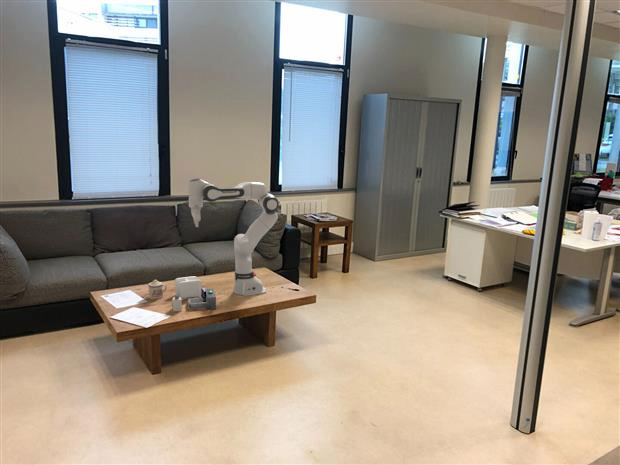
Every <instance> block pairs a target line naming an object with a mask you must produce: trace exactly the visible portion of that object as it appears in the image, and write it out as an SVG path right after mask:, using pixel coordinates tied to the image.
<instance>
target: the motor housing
mask: <svg viewBox="0 0 620 465" xmlns="http://www.w3.org/2000/svg"><path fill="white" fill-rule="evenodd" d="M204 292H206V302H203V298H202V297H189V298H187V305H188V309H189V311H191V310H198V309H199V310H201V309H207V311H210V310H217V296H216V293H215V291H214V288H205V289H204Z"/></svg>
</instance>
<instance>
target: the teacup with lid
mask: <svg viewBox="0 0 620 465" xmlns="http://www.w3.org/2000/svg"><path fill="white" fill-rule="evenodd" d="M147 286H148V298H149V299H151V300H159V299H162V298H163V297H164V292H166V291H167V285H166V284H164V283H163V282H161V281H158V280H157V279H154V280H152V282H149V283H148V285H147ZM163 287H164V288H163ZM163 289H164V290H163Z"/></svg>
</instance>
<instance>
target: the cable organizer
mask: <svg viewBox="0 0 620 465" xmlns="http://www.w3.org/2000/svg"><path fill="white" fill-rule="evenodd" d="M174 292H175V295H179V297H181V299H182V300H185V299H188V298H199V297H200V296H201V295H202V281H201V279H198V277H197V276H194V275H193V276H192V275H191V276H185V277H184V276H183V277H177V278H175V279H174Z"/></svg>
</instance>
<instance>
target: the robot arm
mask: <svg viewBox="0 0 620 465" xmlns="http://www.w3.org/2000/svg"><path fill="white" fill-rule="evenodd" d="M267 189H268V188H267V186H266V184H265V183H263V182H258V181H257V182H256V181H244V182H240V183H238V184H237V185H236V186H234V187H225V188H223V187H217V186H216V185H214V184H213V183H209V182H206V181H205V180H203V179H202V178H192V179H190V181H189V182H188V189H187V190H188V207H189V208H190V212H191V213H190V214H191V216H192V218H193V223H194V225H195V227H196V228H199V222H201V218H202V217H201V210H202V208H203V207H204V200H205V201H207V202H209V203H210V202H211V203H212V202H213V203H214V202H216V201H218V200H221V199H232V198H233V199H234V198H236V199H241V200H242V199H243V200H244V199H246V200H248V199H249V200H252V199H254V200H257V203H258V205H259V206H260V207H261V208H262V210H263V211H262V212H261V214H260V215H259V216H258V218H256V219H255V220H254V222H252V223H251V224H250V225H249V227H248V229H247V230H246V232H245V233H238V234H237V235H236V236H234V238H233V249H234V258H235V260H234V261H235V262H234V265H235V271H234V286H233V288H232V293H233V294H236V295H240V296H244V297H247V296H254V295H255V296H256V295H261V294H266V292H267V288H266V287H265V286H263V282H262V281H261V280H260V279H259V278H257V277H256V276H257V273H255V272H254V271H253V269H252V268H253V266H252V265H253V264H252V263H253V259H252V253H253V251H254V250H255V248H256V246H257V245H258V243H259V242H260V240H261V239H263V236H265V235H266V234H267V233H268V232H269V231H270V229H271V228H272V227H274V225H275V224H276V223H277V221H278V219H279V215H278V213H277V212H278V208H279V199H278V198H277V197H276V196H275V195H274V194H272V193H269V192H268V191H267Z"/></svg>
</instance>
